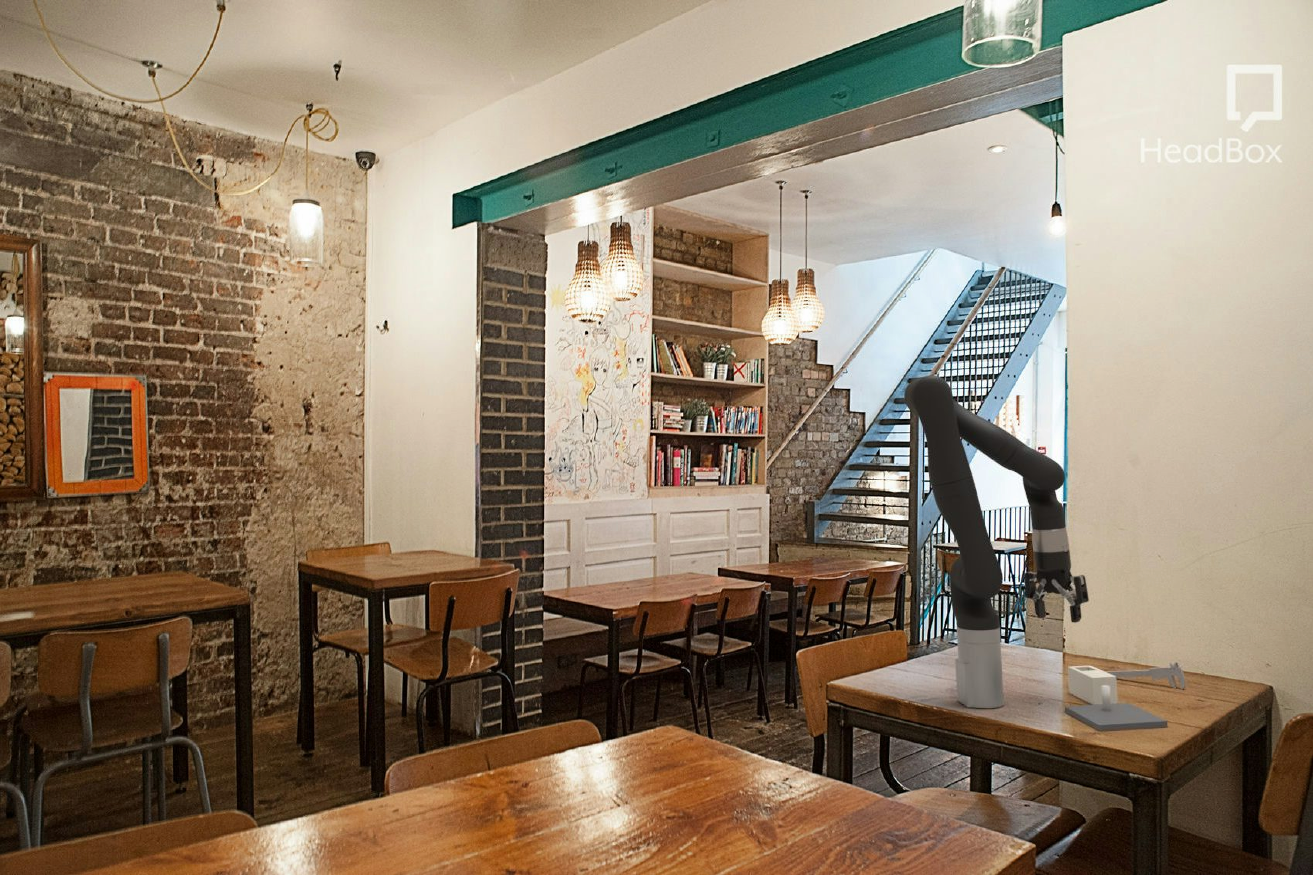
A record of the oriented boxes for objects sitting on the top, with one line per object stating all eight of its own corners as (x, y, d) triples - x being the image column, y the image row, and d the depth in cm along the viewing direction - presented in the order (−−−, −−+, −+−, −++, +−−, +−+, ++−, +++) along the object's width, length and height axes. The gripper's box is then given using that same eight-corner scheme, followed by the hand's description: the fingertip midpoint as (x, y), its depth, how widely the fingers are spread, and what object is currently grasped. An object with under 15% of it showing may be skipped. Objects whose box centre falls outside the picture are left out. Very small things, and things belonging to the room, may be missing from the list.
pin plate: (1099, 731, 181) (1097, 699, 181) (1064, 711, 195) (1063, 682, 195) (1167, 726, 182) (1165, 695, 182) (1128, 708, 196) (1126, 679, 196)
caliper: (1185, 690, 209) (1183, 662, 209) (1183, 691, 208) (1182, 663, 208) (1096, 676, 224) (1094, 650, 225) (1094, 677, 224) (1092, 651, 224)
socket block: (1093, 705, 199) (1092, 677, 199) (1069, 692, 210) (1067, 666, 210) (1117, 703, 199) (1116, 676, 199) (1091, 691, 210) (1090, 665, 210)
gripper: (1013, 549, 208) (1020, 619, 208) (1069, 552, 196) (1077, 626, 196) (1033, 544, 212) (1041, 613, 212) (1090, 547, 200) (1098, 620, 200)
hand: (1058, 619), depth 204 cm, fingers open, 8 cm apart
